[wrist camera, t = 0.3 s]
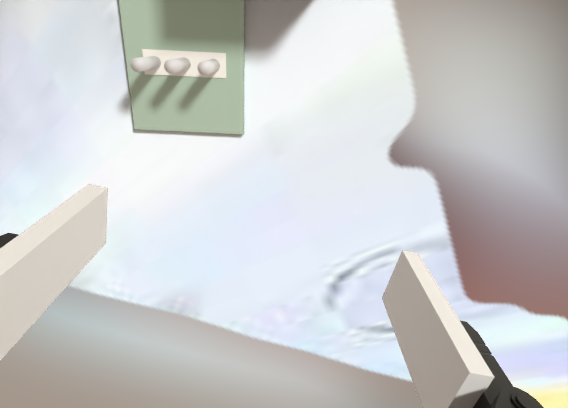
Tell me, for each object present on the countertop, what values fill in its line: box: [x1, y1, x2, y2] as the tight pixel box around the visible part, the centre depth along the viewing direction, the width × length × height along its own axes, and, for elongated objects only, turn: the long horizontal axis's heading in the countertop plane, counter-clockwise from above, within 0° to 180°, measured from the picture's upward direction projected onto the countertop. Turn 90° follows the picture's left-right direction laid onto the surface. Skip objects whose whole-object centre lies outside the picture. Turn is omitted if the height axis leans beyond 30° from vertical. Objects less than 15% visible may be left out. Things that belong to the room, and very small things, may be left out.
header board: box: [119, 0, 244, 134], centre depth 35 cm, size 14×12×6 cm
